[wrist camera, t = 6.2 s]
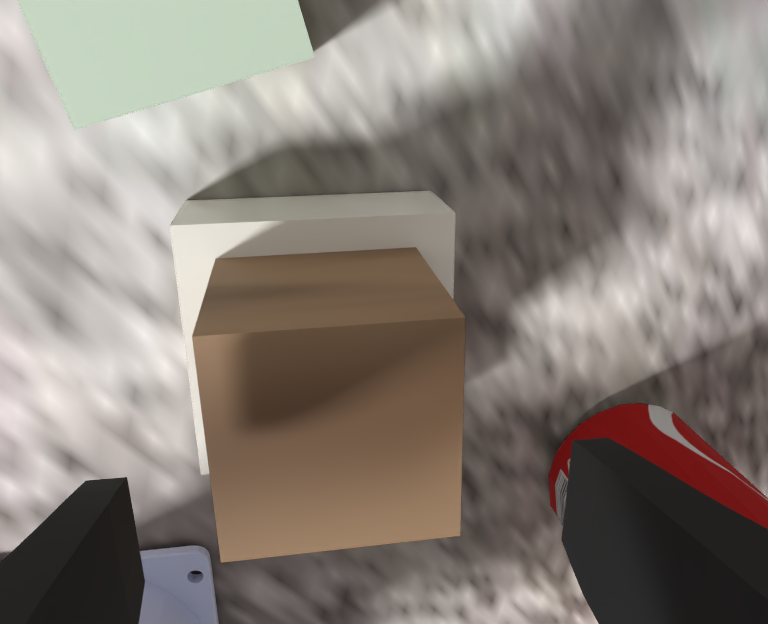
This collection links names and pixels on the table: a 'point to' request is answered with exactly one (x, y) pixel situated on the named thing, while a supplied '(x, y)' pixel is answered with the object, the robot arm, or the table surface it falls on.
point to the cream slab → (299, 243)
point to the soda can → (662, 457)
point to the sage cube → (158, 48)
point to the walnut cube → (330, 401)
